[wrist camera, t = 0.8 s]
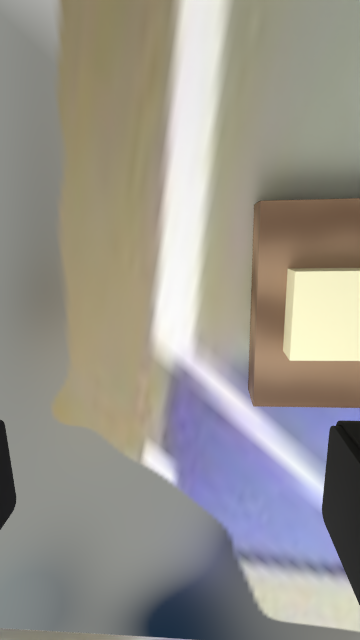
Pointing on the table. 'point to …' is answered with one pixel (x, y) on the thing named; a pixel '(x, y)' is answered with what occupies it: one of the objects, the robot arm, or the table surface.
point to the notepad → (322, 314)
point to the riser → (270, 299)
